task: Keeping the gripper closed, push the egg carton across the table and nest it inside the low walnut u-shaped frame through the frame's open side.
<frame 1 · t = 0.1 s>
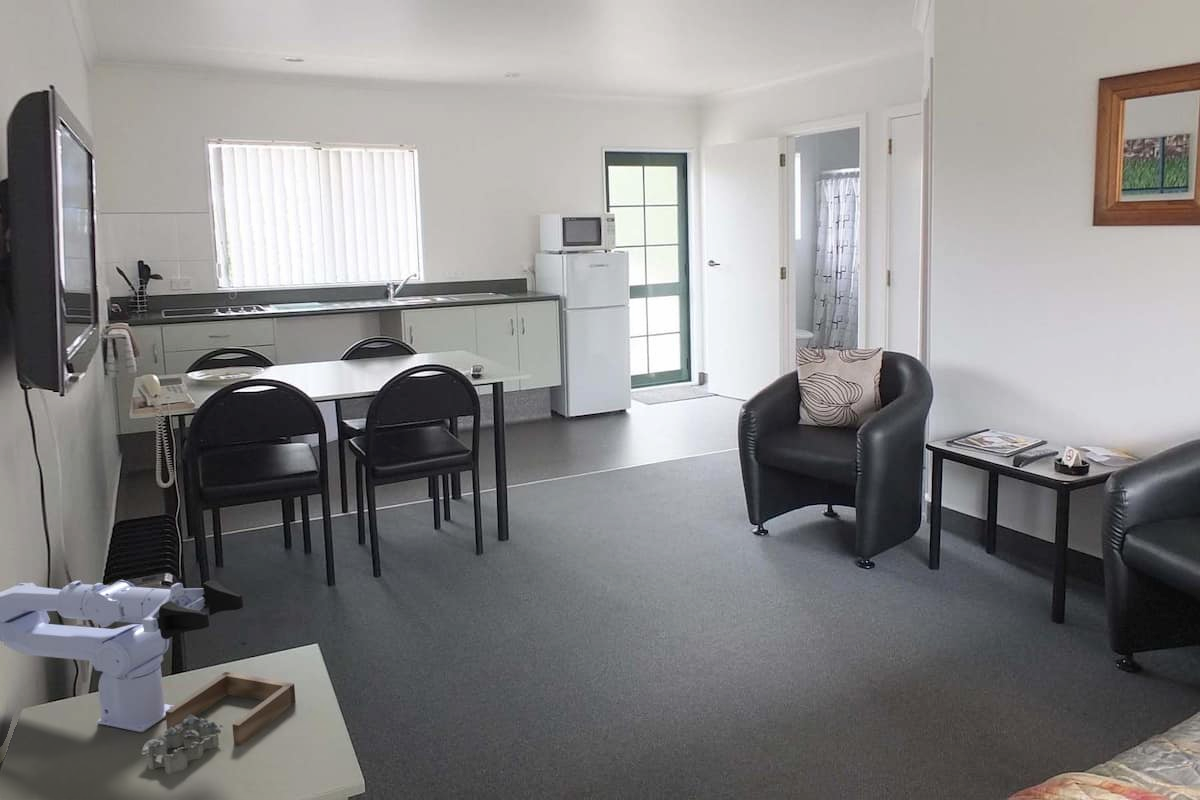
hand: (224, 611, 145), 22 cm above the table, tool horizontal, fingers open, 7 cm apart
walnut u-shaped frame: (233, 716, 155), on the table
egg carton: (183, 755, 144), on the table
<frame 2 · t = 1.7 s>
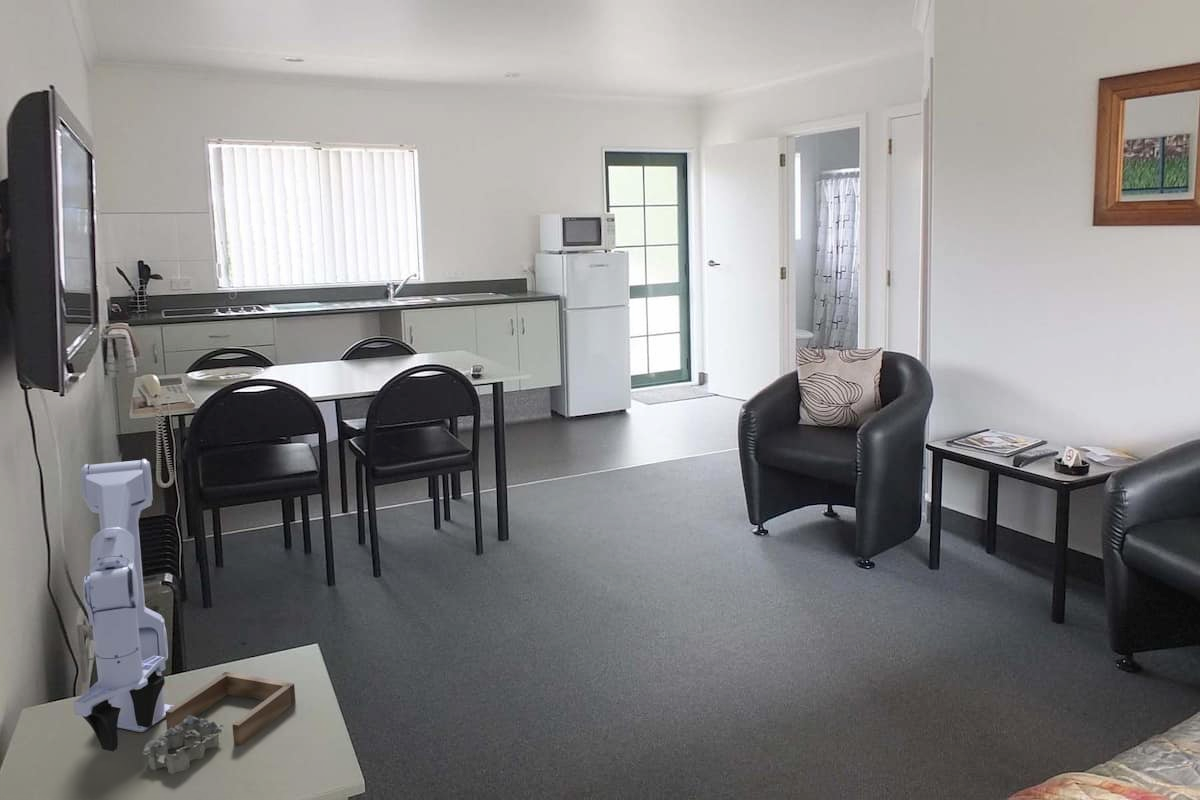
hand: (127, 737, 133), 8 cm above the table, tool pointing down, fingers open, 6 cm apart
nothing on the table moved.
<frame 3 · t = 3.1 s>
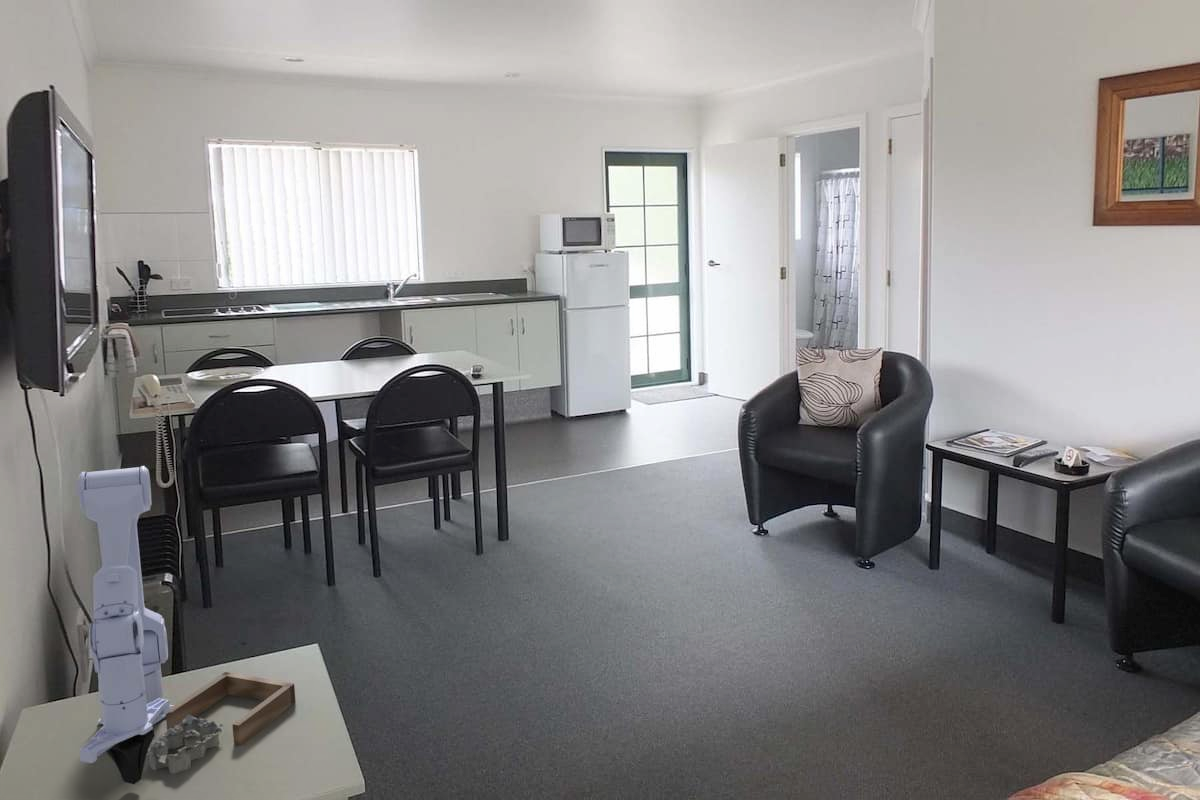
hand: (132, 780, 135), 1 cm above the table, tool pointing down, fingers closed
nothing on the table moved.
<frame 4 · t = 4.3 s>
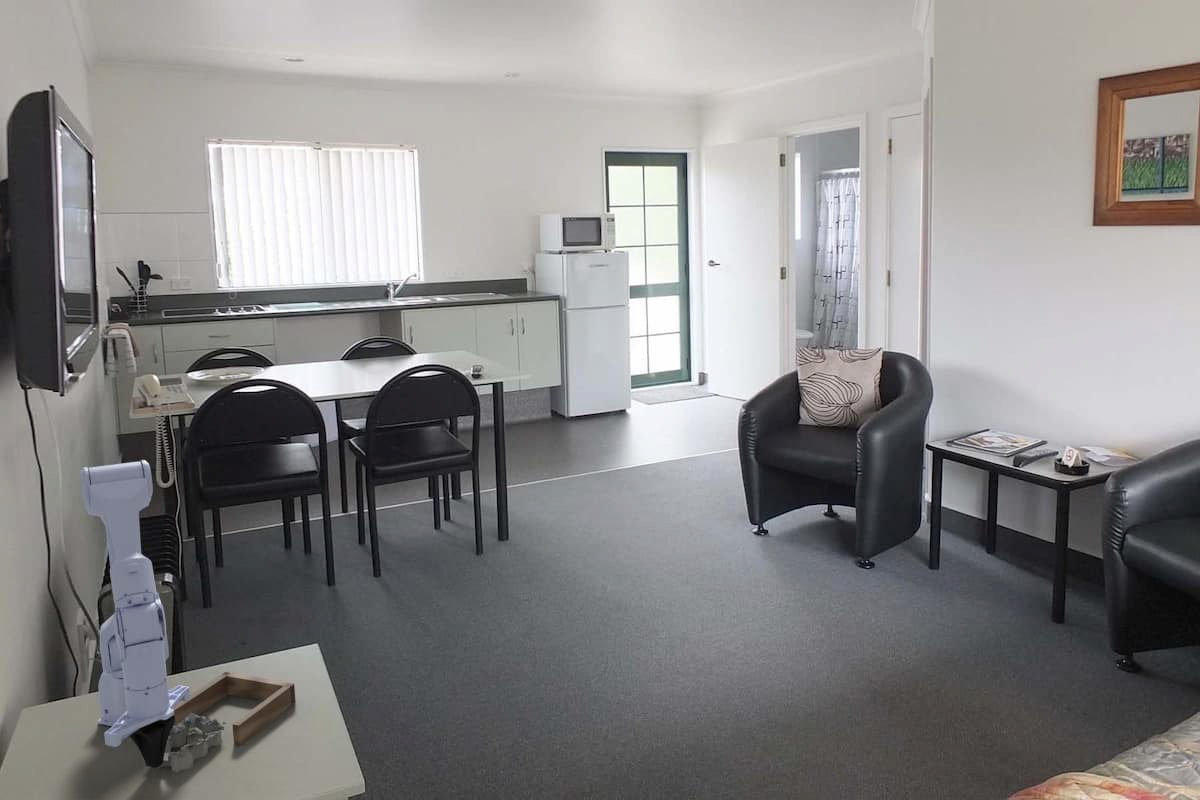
hand: (154, 764, 138), 1 cm above the table, tool pointing down, fingers closed
egg carton: (187, 753, 144), on the table, touching gripper
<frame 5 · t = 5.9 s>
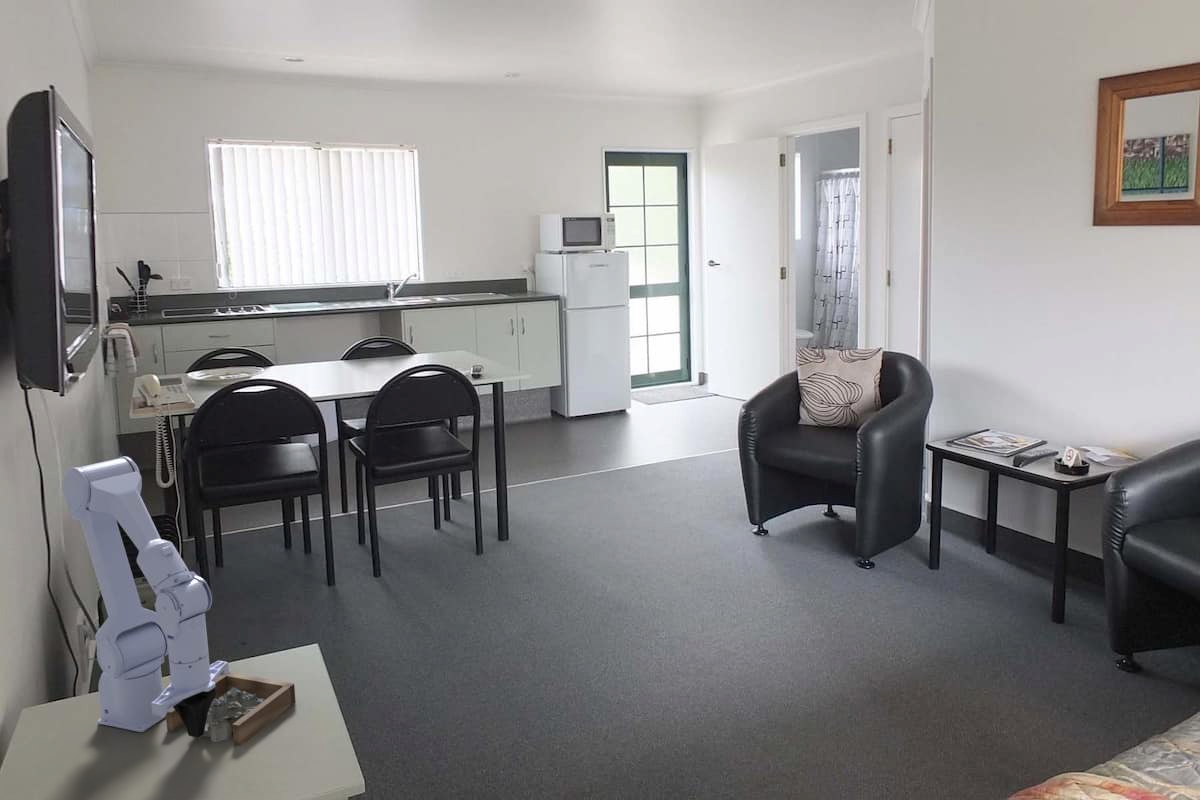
hand: (196, 734, 147), 1 cm above the table, tool pointing down, fingers closed
egg carton: (227, 725, 152), on the table, touching gripper
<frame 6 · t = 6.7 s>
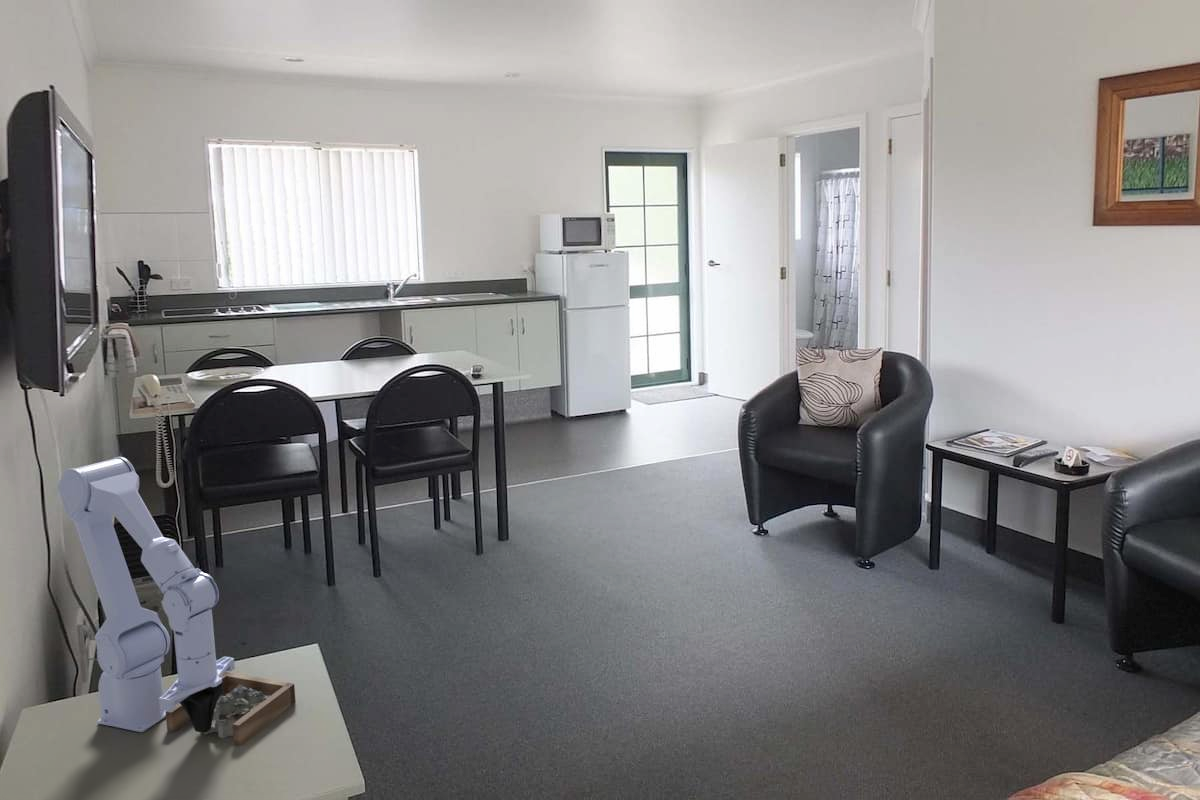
hand: (202, 730, 148), 1 cm above the table, tool pointing down, fingers closed
egg carton: (234, 722, 154), on the table
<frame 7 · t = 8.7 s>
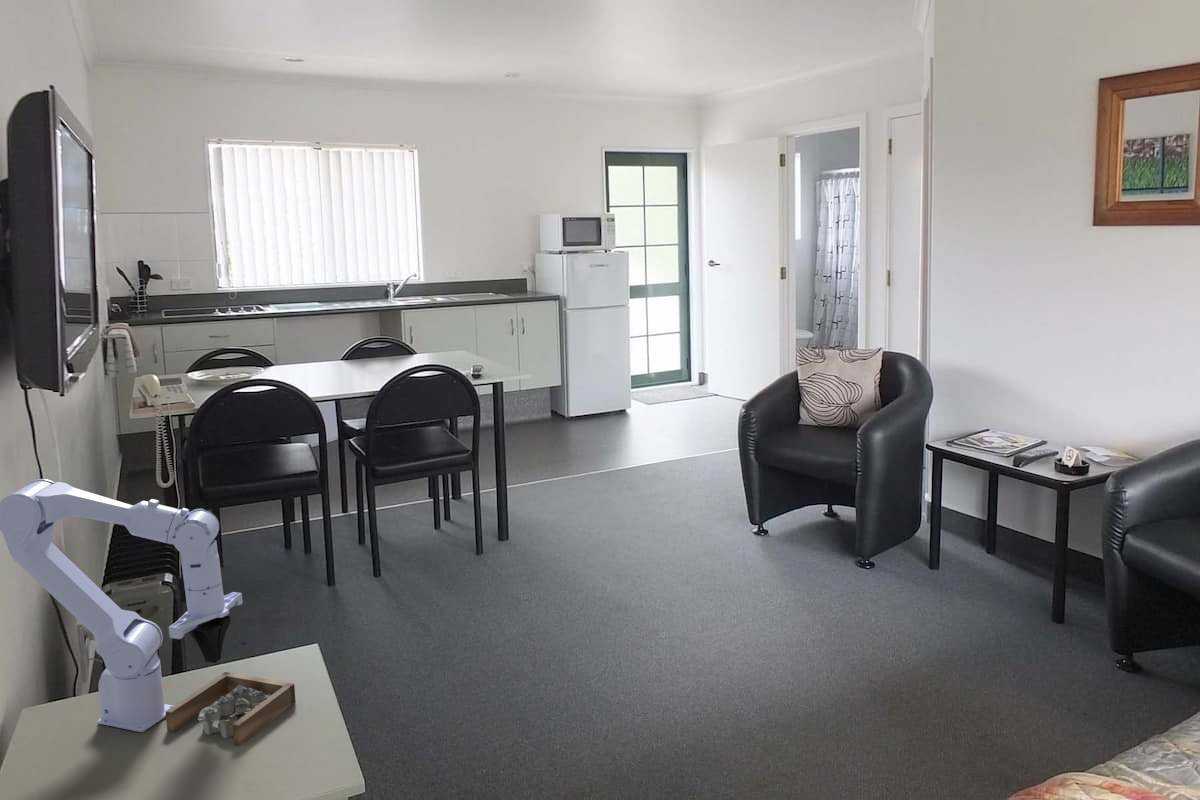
hand: (213, 660, 155), 9 cm above the table, tool pointing down, fingers closed
nothing on the table moved.
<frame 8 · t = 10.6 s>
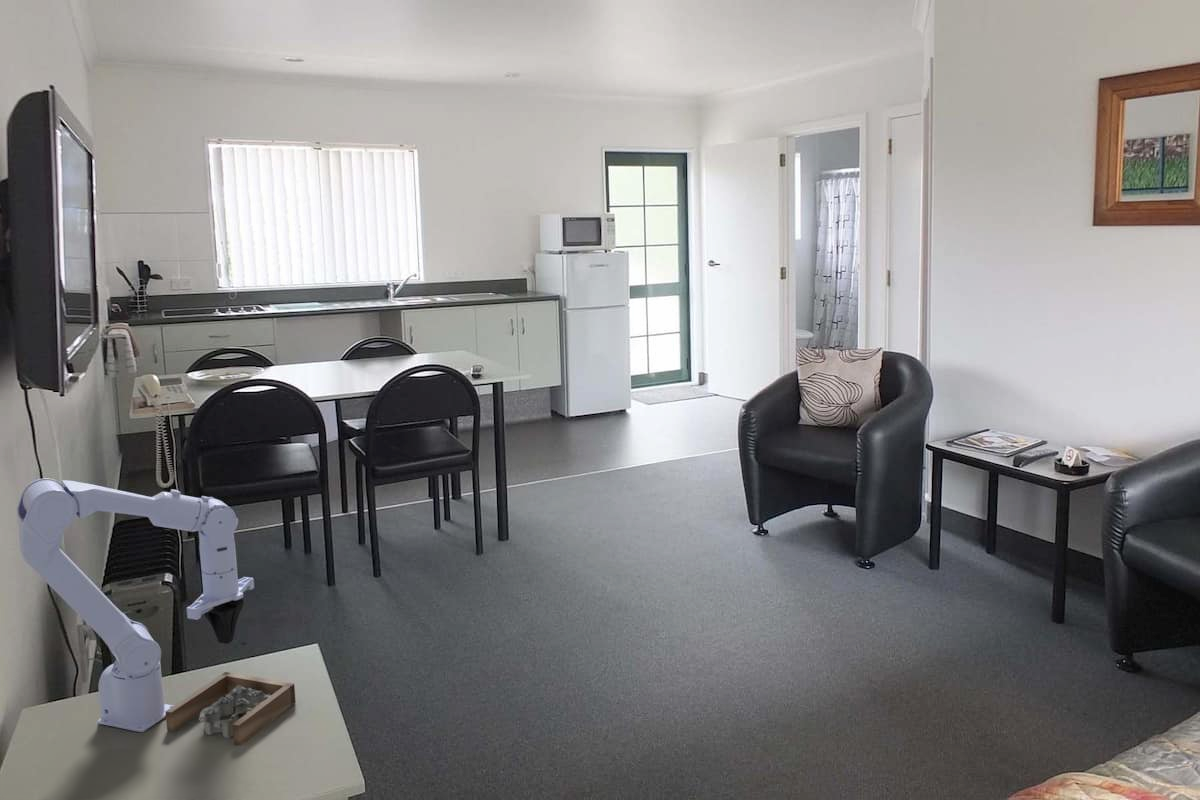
hand: (225, 641, 162), 9 cm above the table, tool pointing down, fingers closed
nothing on the table moved.
at the end: egg carton 1.1 cm off-centre on the walnut u-shaped frame, point -0.5 cm above the walnut u-shaped frame's base; egg carton tilted 0°; egg carton moved 10.8 cm from its start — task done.
